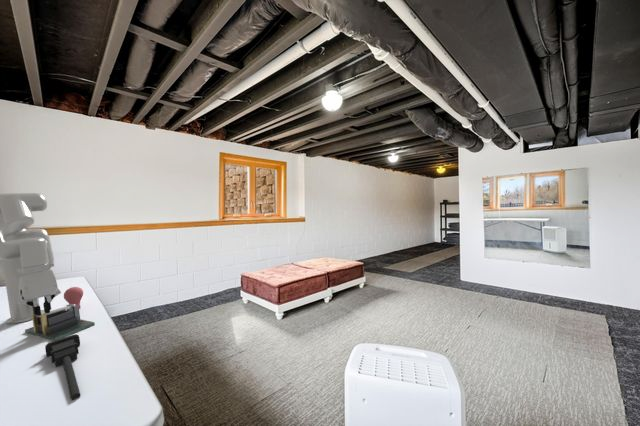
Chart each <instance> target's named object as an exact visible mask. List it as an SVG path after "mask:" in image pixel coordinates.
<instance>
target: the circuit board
mask: <svg viewBox="0 0 640 426" xmlns="http://www.w3.org/2000/svg"><path fill="white" fill-rule="evenodd" d="M69 305H70V304H69V303H68V304H66V306H69ZM66 306H65V307H66ZM72 307H73V308H70V309H67V310H63V311H60V312H56V313H53V314H49V315H46V314H42V315H40V317H37V316H36V315H34V313H32V326H31V327H28V328H26V329H24V332H25V333H26V334H29V335H33V336H37V337H40V338H43V339H48V340H50V341H56V340H59V339H62V338H65V337H68V336H71V335H75V334H76V333H78V332H81V331H84V330H86V329H88V328H90V327H93V326H95V325H96V324H95V322H94V321H90V320H85V319H82V318H81V313H80V309H79V305H75V306H72Z"/></svg>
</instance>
